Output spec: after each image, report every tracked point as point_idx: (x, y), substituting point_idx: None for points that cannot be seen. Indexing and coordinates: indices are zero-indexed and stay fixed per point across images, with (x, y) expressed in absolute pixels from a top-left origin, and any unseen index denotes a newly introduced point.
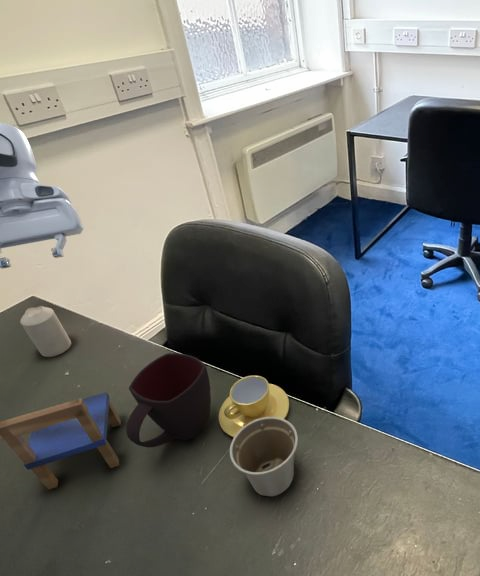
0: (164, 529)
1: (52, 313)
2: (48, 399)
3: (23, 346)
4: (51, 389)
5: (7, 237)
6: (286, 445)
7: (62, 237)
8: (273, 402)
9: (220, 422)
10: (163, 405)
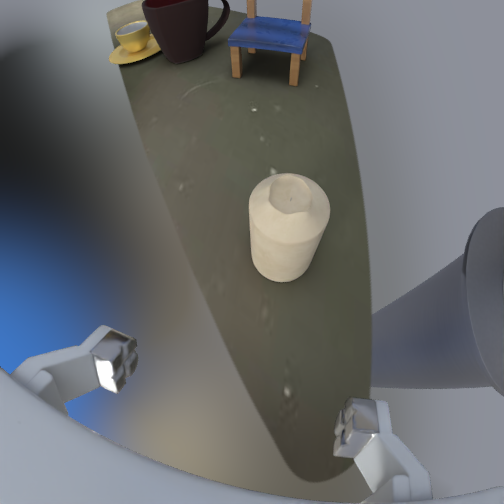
0: (239, 21)
1: (252, 192)
2: (304, 139)
3: (341, 307)
4: (299, 153)
5: None
6: None
7: (26, 361)
8: (124, 49)
9: None
10: None
